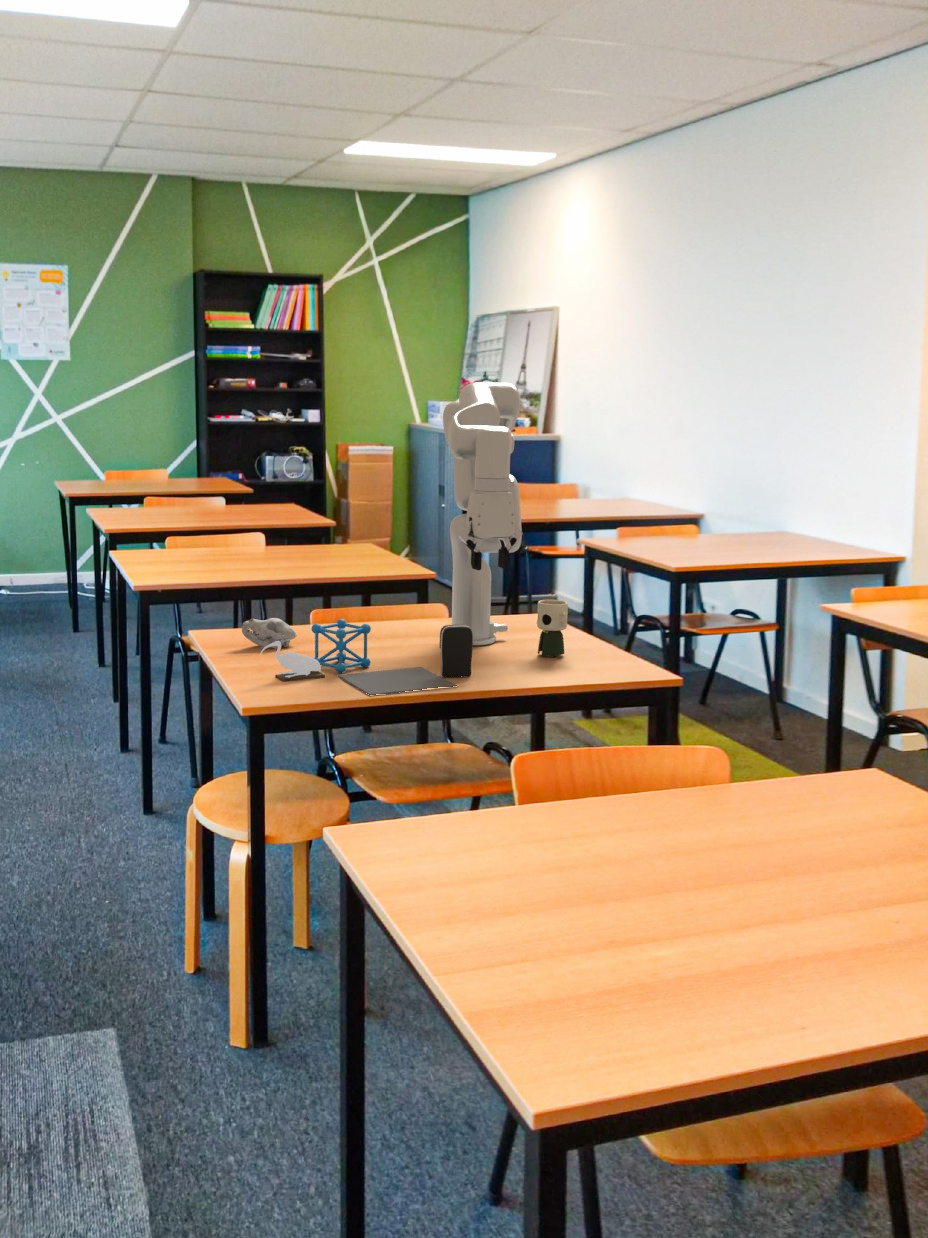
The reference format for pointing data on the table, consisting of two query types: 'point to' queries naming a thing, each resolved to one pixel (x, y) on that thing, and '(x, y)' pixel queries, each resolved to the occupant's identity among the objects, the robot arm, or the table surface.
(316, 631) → the molecular structure
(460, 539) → the robot arm
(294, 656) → the figurine
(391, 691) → the mat
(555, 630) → the character mug
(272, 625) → the skull
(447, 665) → the battery charger
